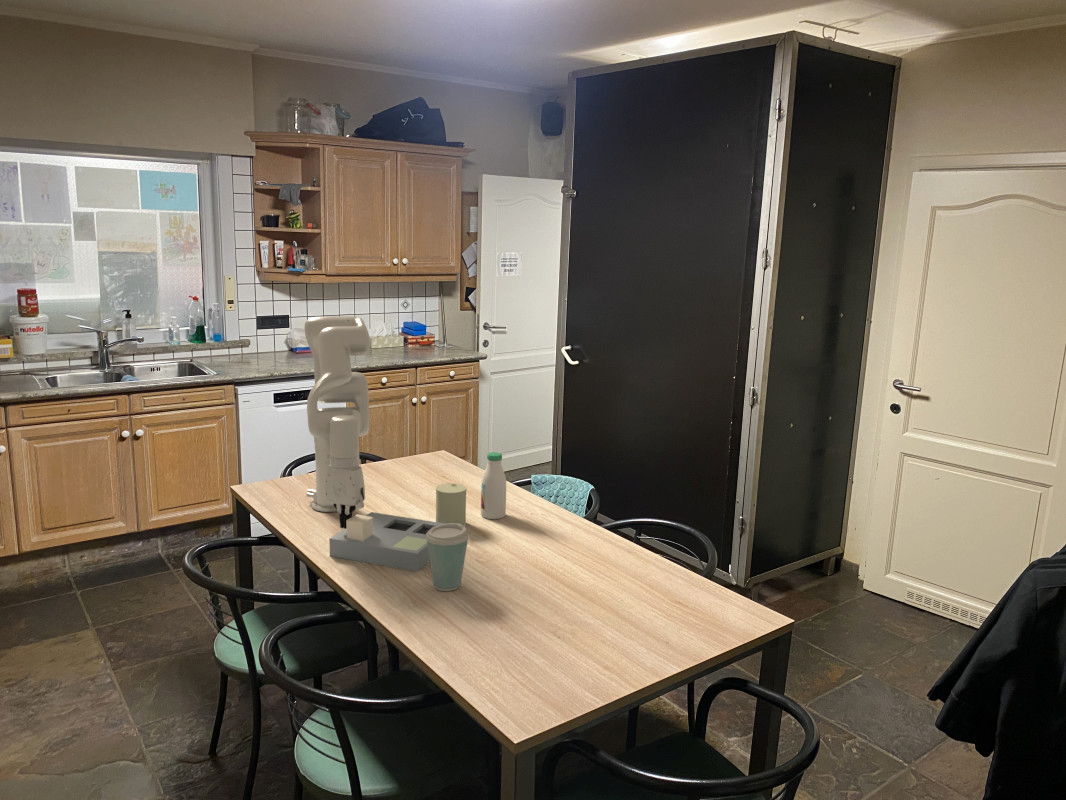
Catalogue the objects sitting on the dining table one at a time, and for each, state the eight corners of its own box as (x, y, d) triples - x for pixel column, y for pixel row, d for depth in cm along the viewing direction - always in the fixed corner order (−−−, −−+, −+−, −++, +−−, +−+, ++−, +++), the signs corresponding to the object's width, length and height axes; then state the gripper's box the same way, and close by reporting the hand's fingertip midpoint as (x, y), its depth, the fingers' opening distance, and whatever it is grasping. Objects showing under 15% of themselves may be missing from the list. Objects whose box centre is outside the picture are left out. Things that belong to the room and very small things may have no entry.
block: (346, 537, 208) (346, 520, 207) (357, 531, 212) (357, 514, 211) (362, 541, 206) (362, 523, 205) (373, 534, 211) (372, 517, 210)
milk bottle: (509, 514, 244) (511, 452, 240) (498, 521, 237) (500, 458, 233) (488, 509, 247) (489, 449, 243) (476, 517, 240) (477, 454, 236)
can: (468, 520, 238) (469, 482, 235) (463, 531, 229) (463, 492, 226) (439, 518, 239) (439, 480, 236) (432, 528, 230) (432, 490, 227)
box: (329, 556, 208) (329, 538, 207) (371, 528, 229) (371, 512, 227) (417, 571, 200) (417, 553, 199) (452, 541, 221) (452, 524, 220)
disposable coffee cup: (433, 598, 186) (434, 539, 183) (418, 580, 195) (419, 524, 192) (474, 590, 191) (475, 533, 188) (458, 573, 200) (458, 518, 197)
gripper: (312, 461, 206) (314, 527, 210) (361, 468, 202) (362, 535, 205) (328, 454, 213) (330, 518, 217) (376, 461, 208) (377, 526, 212)
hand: (346, 526), depth 211 cm, fingers closed
